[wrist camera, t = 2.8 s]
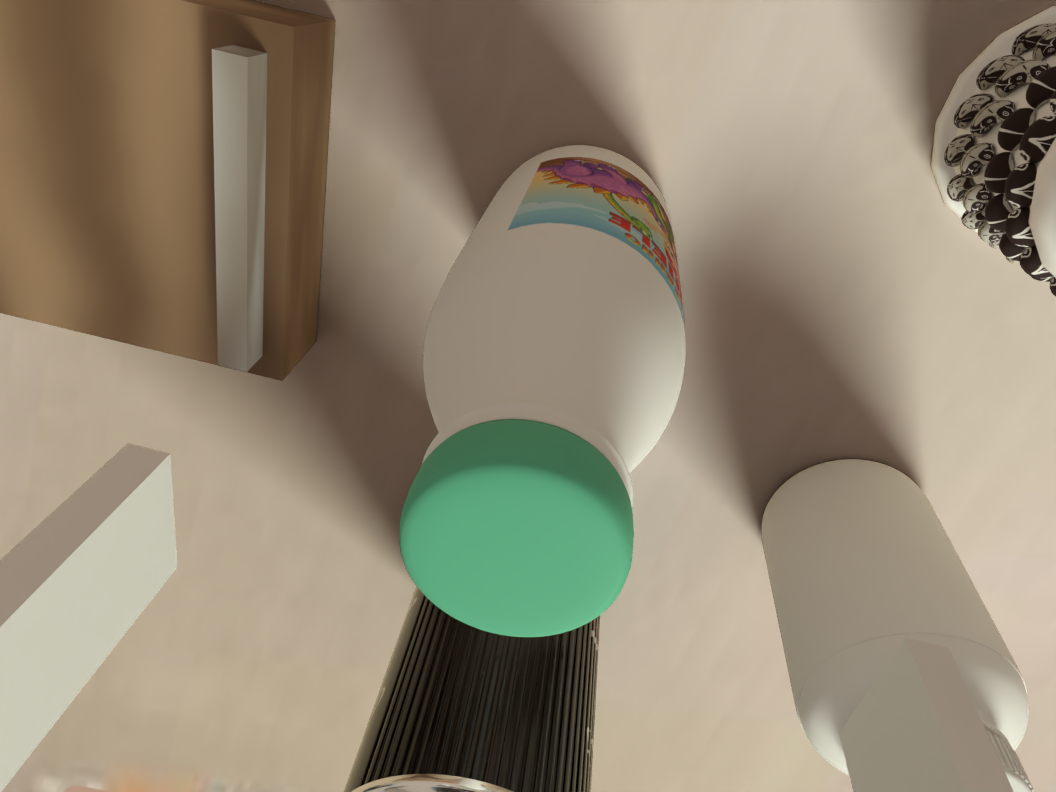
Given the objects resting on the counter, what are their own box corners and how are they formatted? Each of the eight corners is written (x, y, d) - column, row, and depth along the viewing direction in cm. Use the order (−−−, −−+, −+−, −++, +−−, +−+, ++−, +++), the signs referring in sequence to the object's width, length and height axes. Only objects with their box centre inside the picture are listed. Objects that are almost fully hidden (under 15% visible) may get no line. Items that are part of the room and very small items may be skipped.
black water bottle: (615, 518, 38) (592, 1214, 17) (594, 653, 44) (555, 1315, 22) (422, 493, 39) (166, 1128, 18) (424, 628, 44) (227, 1246, 23)
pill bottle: (776, 443, 35) (858, 719, 22) (950, 464, 34) (1140, 759, 22) (742, 568, 39) (795, 862, 26) (898, 588, 38) (1031, 900, 26)
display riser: (-7, 263, 35) (-106, 308, 31) (-71, -77, 28) (-212, -86, 24) (316, 340, 35) (267, 398, 31) (335, 20, 28) (275, 30, 23)
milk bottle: (560, 349, 34) (484, 739, 17) (452, 215, 31) (232, 511, 14) (707, 256, 31) (798, 614, 14) (601, 99, 28) (550, 298, 11)
